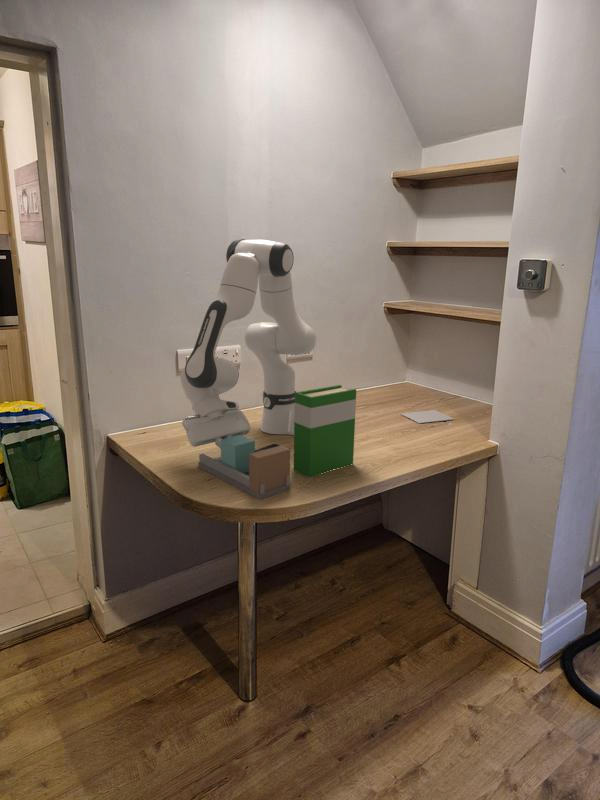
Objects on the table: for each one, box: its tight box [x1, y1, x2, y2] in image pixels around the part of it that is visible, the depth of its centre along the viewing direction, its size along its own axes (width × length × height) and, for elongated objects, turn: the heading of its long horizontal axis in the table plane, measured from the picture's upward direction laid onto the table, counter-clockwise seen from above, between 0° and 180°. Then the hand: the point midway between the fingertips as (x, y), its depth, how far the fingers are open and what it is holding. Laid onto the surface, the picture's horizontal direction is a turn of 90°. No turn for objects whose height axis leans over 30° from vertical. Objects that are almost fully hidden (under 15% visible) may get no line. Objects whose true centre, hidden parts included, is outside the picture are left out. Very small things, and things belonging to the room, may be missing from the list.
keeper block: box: [220, 435, 256, 474], centre depth 166 cm, size 7×7×9 cm
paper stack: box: [399, 409, 455, 426], centre depth 225 cm, size 23×25×1 cm
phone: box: [255, 443, 291, 452], centre depth 186 cm, size 8×1×15 cm
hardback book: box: [293, 384, 357, 478], centre depth 172 cm, size 18×7×24 cm, turn 129°
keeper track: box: [197, 445, 292, 500], centre depth 165 cm, size 11×30×12 cm, turn 42°
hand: (229, 451), depth 169 cm, fingers closed, pressing on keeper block
